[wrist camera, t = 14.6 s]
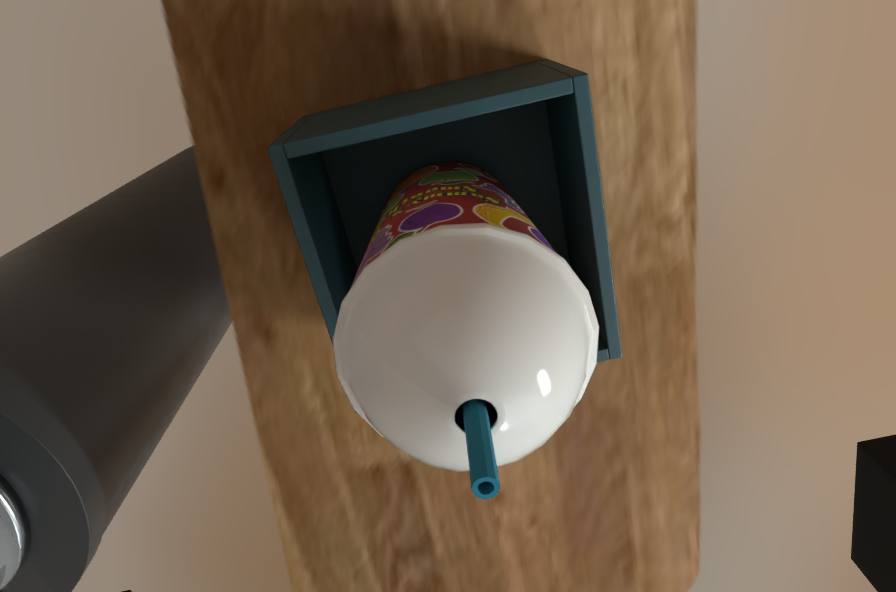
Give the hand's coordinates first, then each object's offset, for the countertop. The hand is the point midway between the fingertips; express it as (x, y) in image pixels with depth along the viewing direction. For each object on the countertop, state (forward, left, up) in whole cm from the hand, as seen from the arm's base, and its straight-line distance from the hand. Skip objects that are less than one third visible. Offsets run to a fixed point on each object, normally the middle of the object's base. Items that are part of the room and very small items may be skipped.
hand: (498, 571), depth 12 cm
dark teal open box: (0, 0, -24) cm, 24 cm away
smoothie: (0, 0, -23) cm, 23 cm away
